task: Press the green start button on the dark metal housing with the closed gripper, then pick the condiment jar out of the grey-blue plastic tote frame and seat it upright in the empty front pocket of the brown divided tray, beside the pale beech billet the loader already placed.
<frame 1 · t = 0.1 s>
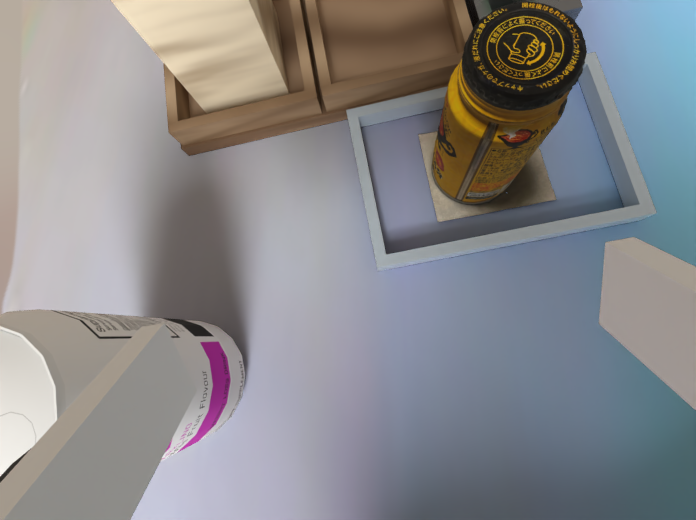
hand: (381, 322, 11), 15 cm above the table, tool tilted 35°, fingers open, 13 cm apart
condiment: (482, 168, 28), resting in tote frame
button housing: (505, 9, 30), on the table
tote frame: (483, 166, 28), on the table
brown divided tray: (315, 56, 31), on the table
supplement can: (197, 377, 27), on the table
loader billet: (242, 63, 31), point 1 cm above the table, touching brown divided tray
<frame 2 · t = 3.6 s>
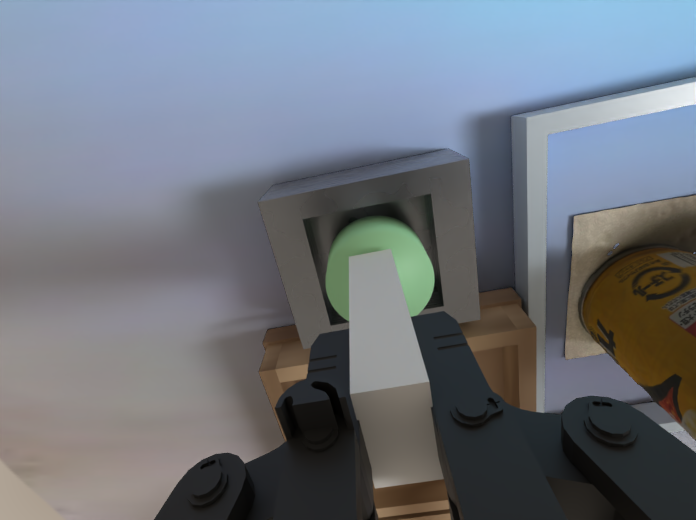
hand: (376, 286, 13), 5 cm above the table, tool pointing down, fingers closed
condiment: (638, 279, 19), resting in tote frame
button housing: (372, 239, 18), on the table
tote frame: (642, 281, 19), on the table
brown divided tray: (415, 463, 24), on the table
start button: (377, 271, 14), point 4 cm above the table, slide at 0.3 cm, touching gripper
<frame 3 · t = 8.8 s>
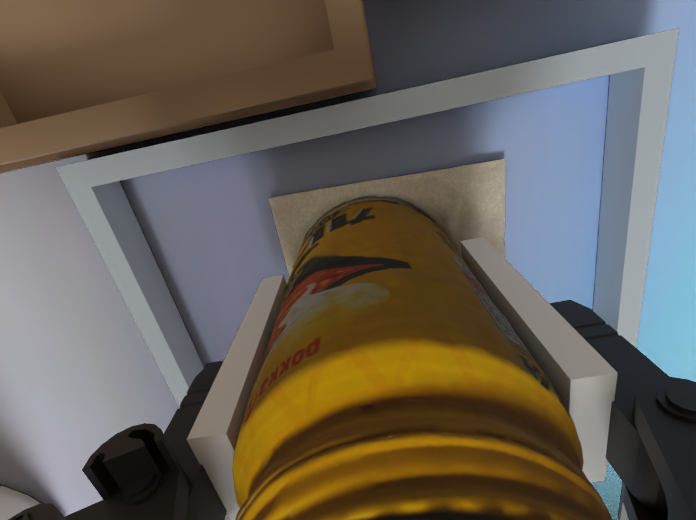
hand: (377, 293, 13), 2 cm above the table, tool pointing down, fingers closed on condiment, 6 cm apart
condiment: (394, 266, 15), resting in tote frame, touching gripper
tote frame: (377, 270, 15), on the table
supplement can: (3, 519, 21), on the table
when the fingers open (5 cm above the table, at t = 14.1 s): condiment stays where it is, resting on brown divided tray.
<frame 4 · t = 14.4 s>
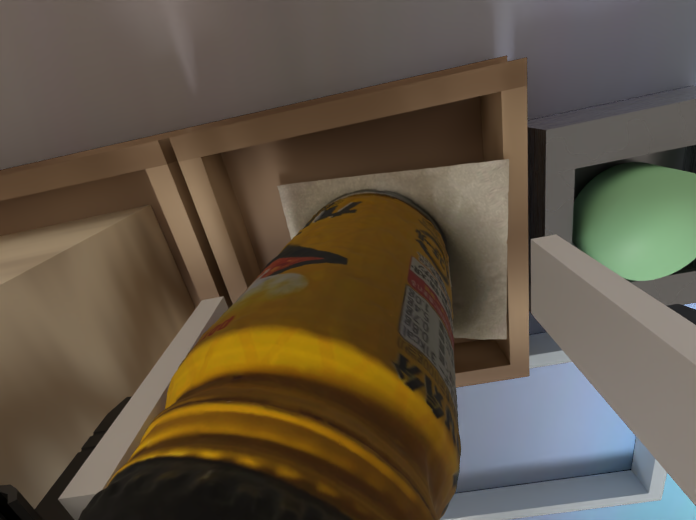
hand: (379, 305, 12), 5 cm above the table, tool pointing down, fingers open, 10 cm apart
condiment: (395, 259, 15), point 2 cm above the table, touching gripper, brown divided tray
button housing: (592, 201, 16), on the table
tote frame: (491, 427, 22), on the table
brown divided tray: (246, 267, 18), on the table
start button: (638, 220, 14), point 3 cm above the table, slide at 1.2 cm
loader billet: (115, 302, 17), point 1 cm above the table, touching gripper, hand, brown divided tray
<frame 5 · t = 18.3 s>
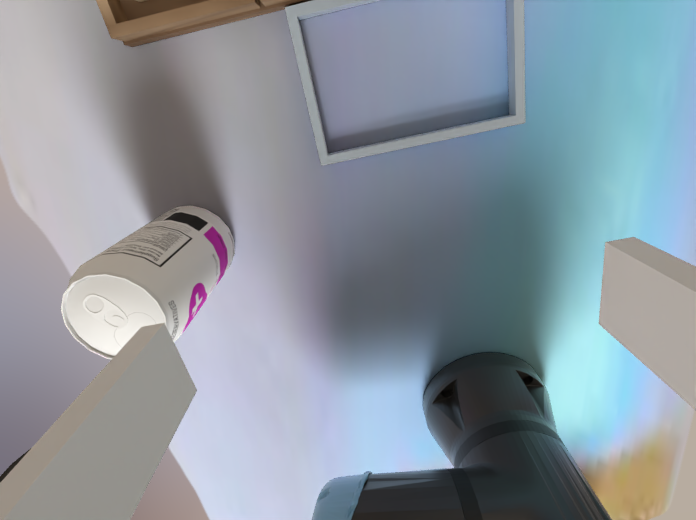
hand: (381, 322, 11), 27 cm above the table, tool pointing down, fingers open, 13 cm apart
tote frame: (408, 69, 32), on the table
supplement can: (198, 240, 39), on the table
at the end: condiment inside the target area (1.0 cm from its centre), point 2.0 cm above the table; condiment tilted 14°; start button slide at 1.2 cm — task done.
